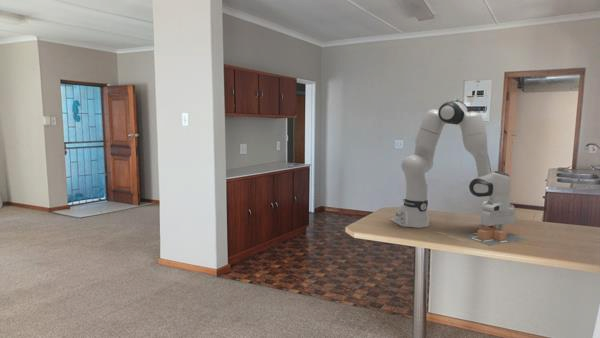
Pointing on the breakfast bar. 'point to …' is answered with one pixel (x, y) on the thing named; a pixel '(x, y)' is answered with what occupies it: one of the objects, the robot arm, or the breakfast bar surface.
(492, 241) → the board
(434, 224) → the breakfast bar surface
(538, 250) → the breakfast bar surface
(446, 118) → the robot arm
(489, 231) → the t block
